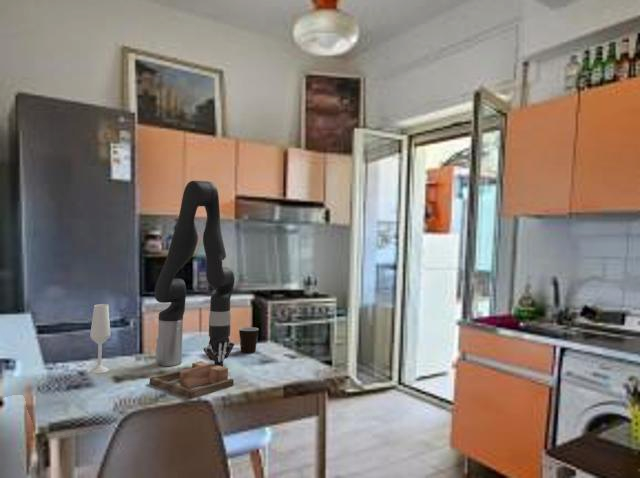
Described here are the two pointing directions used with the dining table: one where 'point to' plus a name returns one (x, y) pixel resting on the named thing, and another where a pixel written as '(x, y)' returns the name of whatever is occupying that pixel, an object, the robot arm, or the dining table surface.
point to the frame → (162, 383)
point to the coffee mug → (248, 339)
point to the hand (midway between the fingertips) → (218, 371)
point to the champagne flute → (100, 332)
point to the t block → (202, 374)
